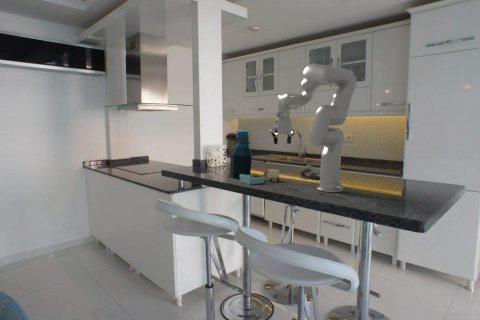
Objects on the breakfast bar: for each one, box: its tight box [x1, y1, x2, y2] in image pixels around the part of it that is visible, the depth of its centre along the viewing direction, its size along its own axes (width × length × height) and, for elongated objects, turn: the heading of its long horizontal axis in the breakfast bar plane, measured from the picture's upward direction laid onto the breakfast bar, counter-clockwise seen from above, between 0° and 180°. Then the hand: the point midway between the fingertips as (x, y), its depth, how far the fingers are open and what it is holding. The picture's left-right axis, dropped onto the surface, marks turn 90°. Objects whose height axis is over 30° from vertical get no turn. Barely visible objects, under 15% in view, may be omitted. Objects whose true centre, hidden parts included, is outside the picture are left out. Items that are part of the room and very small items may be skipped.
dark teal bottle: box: [229, 129, 253, 180], centre depth 193 cm, size 21×14×30 cm, turn 179°
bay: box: [239, 173, 265, 185], centre depth 175 cm, size 12×9×4 cm
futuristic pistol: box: [299, 164, 321, 181], centre depth 187 cm, size 2×15×10 cm, turn 53°
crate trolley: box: [262, 168, 280, 183], centre depth 181 cm, size 8×7×6 cm
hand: (282, 143), depth 186 cm, fingers open, 9 cm apart
